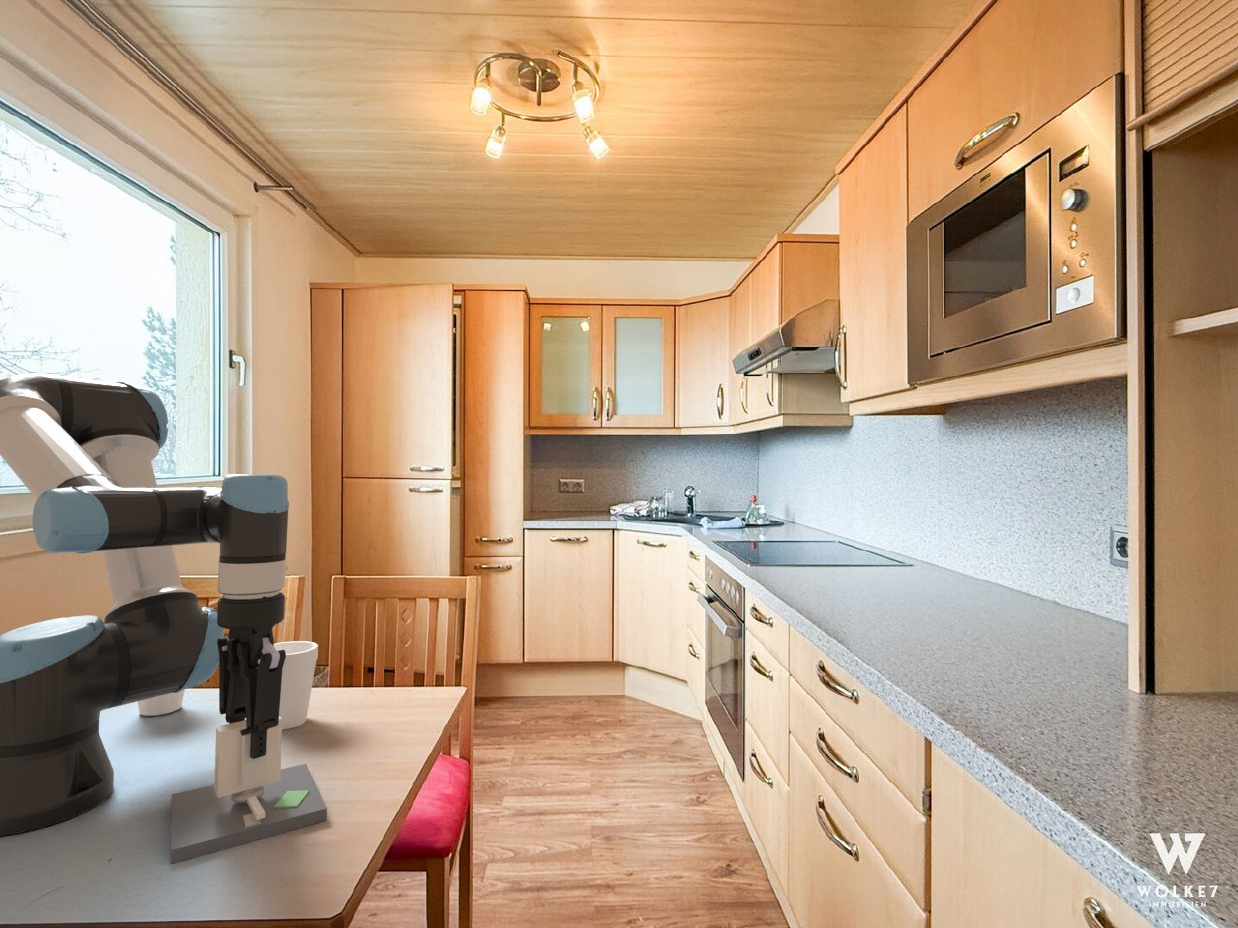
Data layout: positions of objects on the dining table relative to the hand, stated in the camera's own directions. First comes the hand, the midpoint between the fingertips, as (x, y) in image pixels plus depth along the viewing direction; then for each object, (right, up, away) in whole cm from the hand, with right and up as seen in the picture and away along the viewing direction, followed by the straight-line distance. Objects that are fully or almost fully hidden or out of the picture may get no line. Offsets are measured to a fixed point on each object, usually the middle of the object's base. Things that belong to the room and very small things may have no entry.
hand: (246, 776), depth 81 cm
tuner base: (0, -5, 0) cm, 5 cm away
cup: (-36, -5, +34) cm, 50 cm away
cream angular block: (+2, -3, -2) cm, 4 cm away
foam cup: (-10, -5, +30) cm, 32 cm away
